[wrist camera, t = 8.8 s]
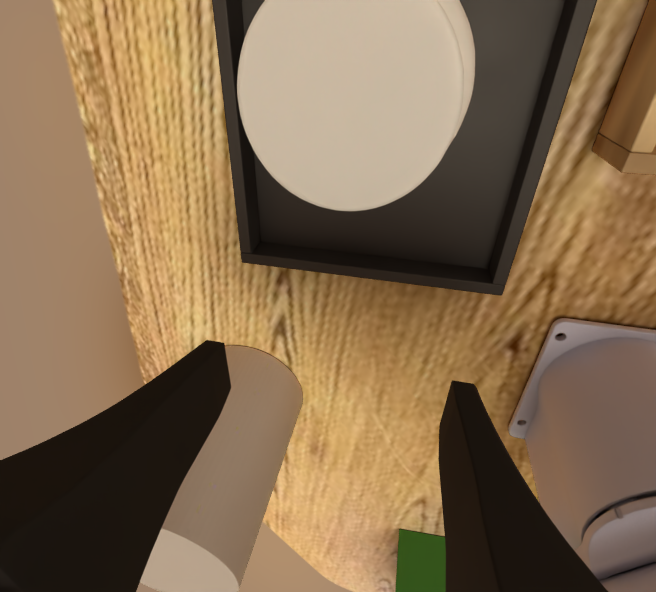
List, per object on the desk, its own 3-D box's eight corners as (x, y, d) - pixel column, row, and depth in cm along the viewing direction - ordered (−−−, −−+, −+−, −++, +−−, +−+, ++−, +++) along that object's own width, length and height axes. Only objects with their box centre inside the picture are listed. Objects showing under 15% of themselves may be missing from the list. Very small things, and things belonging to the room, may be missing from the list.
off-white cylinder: (191, 337, 28) (62, 501, 18) (302, 356, 27) (229, 544, 17) (206, 413, 32) (110, 577, 23) (302, 433, 31) (245, 616, 21)
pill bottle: (290, 73, 17) (163, 112, 9) (386, -66, 14) (328, -199, 6) (383, 168, 18) (348, 276, 10) (490, 60, 15) (560, 93, 7)
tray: (496, 275, 21) (502, 296, 19) (254, 246, 23) (241, 262, 21) (658, -261, 11) (698, -312, 9) (212, -224, 13) (181, -260, 11)
